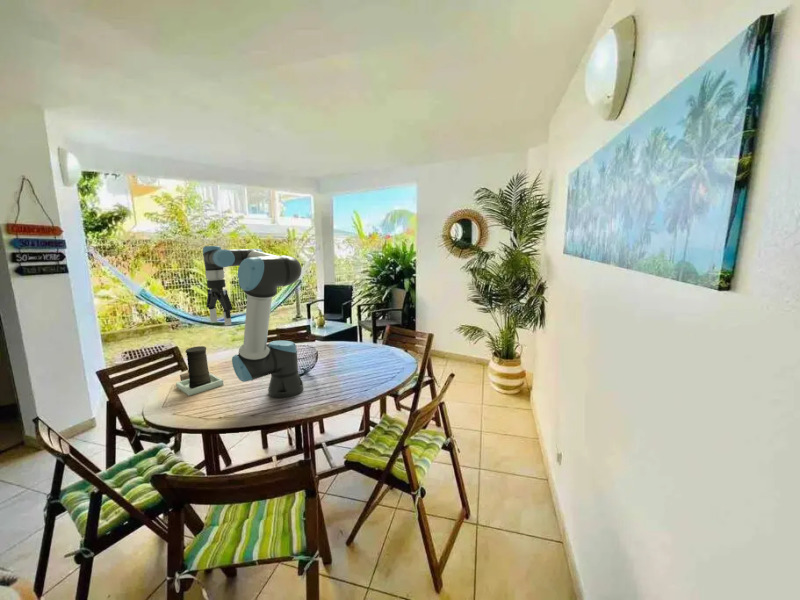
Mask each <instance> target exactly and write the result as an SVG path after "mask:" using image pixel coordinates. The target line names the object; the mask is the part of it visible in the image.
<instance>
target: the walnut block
mask: <svg viewBox="0 0 800 600" xmlns="http://www.w3.org/2000/svg"><path fill="white" fill-rule="evenodd" d="M179 378H180V381H183V380H187V379H189V372H188V371H187V372H186V373H181V374H179Z"/></svg>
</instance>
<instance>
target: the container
mask: <svg viewBox="0 0 800 600" xmlns="http://www.w3.org/2000/svg"><path fill="white" fill-rule="evenodd" d="M206 350H207V347H206V346H203V345H202V346H201V345H200V346H199V345H198V346H193V347H189V348H186V349H185V354H186V357H187V358H186V360H187V367H188V370H189V379H190V381H189V383H190V384H189V387H190V388H192V389H193V388H196V387H199V386H203V385H206V384H209V383H211V380H210V379H211V378H210V377H209V373H210V371H209V365H208V357H207V356H208V355H207V353H206V352H207V351H206Z"/></svg>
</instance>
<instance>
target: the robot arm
mask: <svg viewBox="0 0 800 600" xmlns="http://www.w3.org/2000/svg"><path fill="white" fill-rule="evenodd" d="M202 256H203V262H204V271H205V279H206V286H207V288H208V289H207V298H206V306H205V307H206V308H208V310H209V317H210V323H218V316H217V307H216V304H217V302H218V301H219V304H220V306H221V307H222V309H223V311H222V312H223V319H224V326H231V325H232V315H231V311H233V310H234V308H233V305H232V302H231V300H230V297H229V295H228V290H227V289H223V288H226V279H224V278H225V270H224V269H225V268H228V267H238V269H237V279H238V281H237V283H238V285H239V287H240V288H241V290H243V293H244V294H245V295H246V296H247V297H246V307H245V308H246V310H245V322H244V324H245V325H244V335H243V336H244V337H243V344H242V345H241V346H240V347H239V348H238V354H235V355H233V356H232V358H231V363H232V368H233V370H234V374H235V375H236V378H238V380H239V381H240V382H243V383H245V382H246V383H247V382H250V381H253V380H256V379H257V380H258V379H260V378H263V377H266V376H268V375H270V376H271V377H270V381H269V385H268V388H267V391H268V392H267V393H268V396H269V397H271V398H275V399H286V398H291V397H294V396H297V395H299V394H301V393H302V391H304V383H303V381H302V378H301V375H300V373H299V364H298V363H299V362H298V350H297V345H296V343H295V342H293V341H292V340H291V341H290V340H273V341H270V342H268V333H269V325H270V316H271V307H272V299H273V298H274V297H275V296H276V295H277V294H278V293H277V292H278V288H279V287H286V286H287V287H288V286H290V285H293V284H295V283H296V282H297V281H298V280H299V279H300V277H301V275H302V270H303V269H302V265H301V262H300V261H299V260H298V259H297V258H295V257H293V256H291V255H275V254H272V253H268V252H264V251H263V250H262V249H261V248H246V249H244V248H243V249H237V248H236V249H234V248H233V249H225V248H224V249H223V248H222V247H221V246H220V245H207V246H205V245H204V246H203V247H202ZM267 342H268V345H267Z"/></svg>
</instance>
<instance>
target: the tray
mask: <svg viewBox="0 0 800 600" xmlns="http://www.w3.org/2000/svg"><path fill="white" fill-rule="evenodd" d="M209 377H210V378H211V379H210V380H211V383H209V384H206V385H203V386H199V387H196V388H193V389H192V388H190V387H189V384H190V383H189V381H190V379H187V380H183V381H181V380H180V381H177V382H175V383H176V388H177V390H179V391H181V392H182V393H184V394H185V395H186V396H188V397H190V396H193V395H196V394H200V393H202V392H205V391H209V390H212V389H214V388H218V387H221V386H224V380H223V379H222V378H220V377H218V376H217V375H215V374H213V373H211V372H209Z"/></svg>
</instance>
